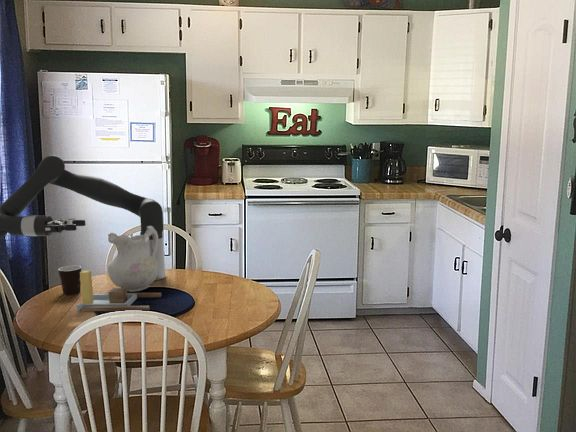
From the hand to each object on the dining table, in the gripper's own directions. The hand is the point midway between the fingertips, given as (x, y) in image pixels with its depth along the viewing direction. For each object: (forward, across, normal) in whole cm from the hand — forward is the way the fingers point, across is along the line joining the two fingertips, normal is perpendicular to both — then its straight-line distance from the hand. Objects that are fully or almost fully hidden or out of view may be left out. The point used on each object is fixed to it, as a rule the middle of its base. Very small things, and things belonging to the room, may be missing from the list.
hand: (80, 225), depth 242 cm
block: (+13, -2, +29) cm, 31 cm away
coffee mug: (-12, +17, +30) cm, 37 cm away
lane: (+14, -2, +30) cm, 33 cm away
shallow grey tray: (+9, -2, +30) cm, 31 cm away
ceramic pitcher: (+13, +19, +30) cm, 38 cm away
